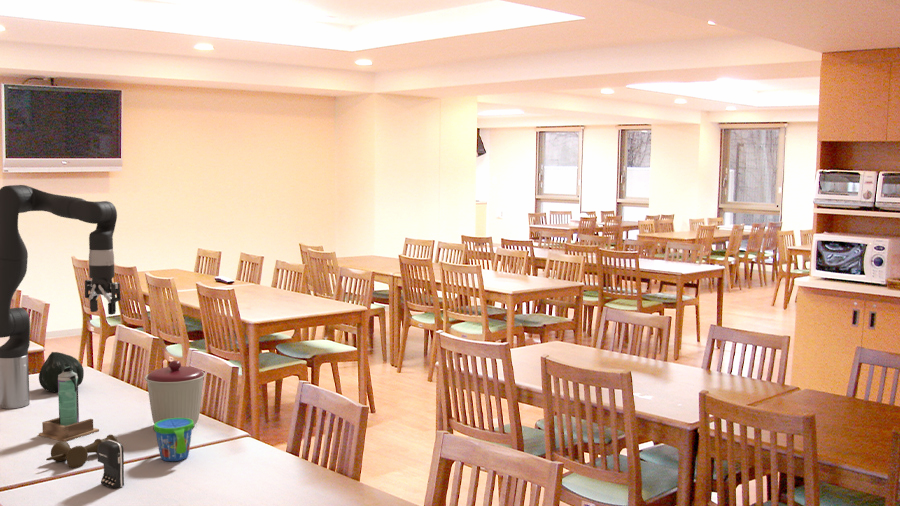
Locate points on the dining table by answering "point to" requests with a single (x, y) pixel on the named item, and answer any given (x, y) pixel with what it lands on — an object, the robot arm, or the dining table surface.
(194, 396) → the canister
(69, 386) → the spray can
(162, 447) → the snack cup
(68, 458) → the kendama
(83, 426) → the keeper cradle
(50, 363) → the squash
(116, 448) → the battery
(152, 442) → the dining table surface
